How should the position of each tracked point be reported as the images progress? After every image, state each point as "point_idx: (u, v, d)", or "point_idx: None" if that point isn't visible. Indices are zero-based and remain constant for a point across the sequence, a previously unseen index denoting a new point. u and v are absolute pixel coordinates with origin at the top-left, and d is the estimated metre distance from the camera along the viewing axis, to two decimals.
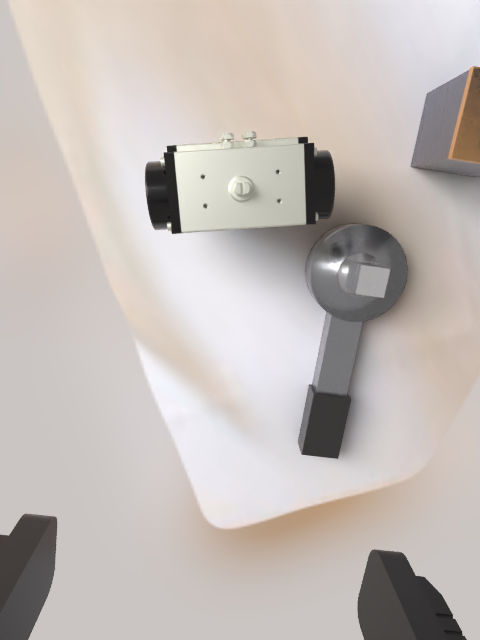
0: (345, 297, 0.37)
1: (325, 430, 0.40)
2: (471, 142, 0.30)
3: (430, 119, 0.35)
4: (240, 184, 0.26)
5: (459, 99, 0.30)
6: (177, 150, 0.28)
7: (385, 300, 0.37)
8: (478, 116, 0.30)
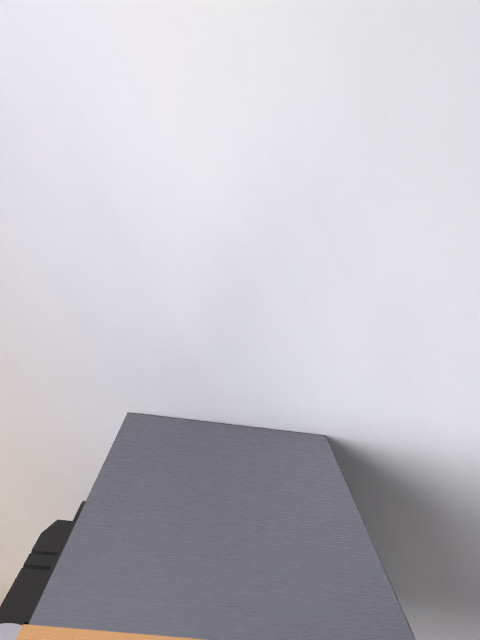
0: None
1: None
2: None
3: None
4: None
5: None
6: None
7: None
8: None
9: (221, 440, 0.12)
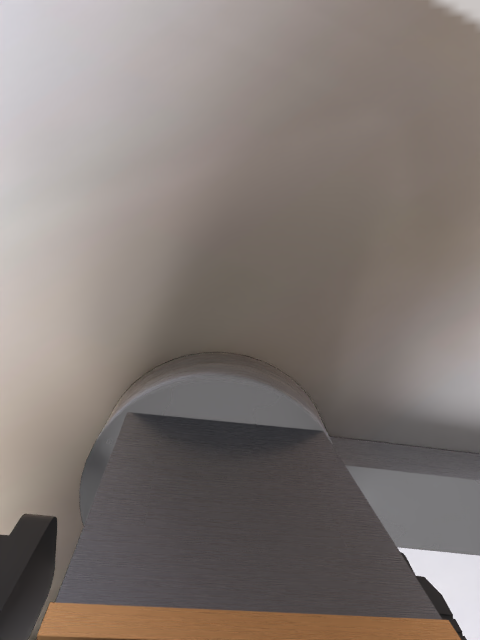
0: None
1: None
2: None
3: None
4: None
5: None
6: None
7: None
8: None
9: (223, 435, 0.12)
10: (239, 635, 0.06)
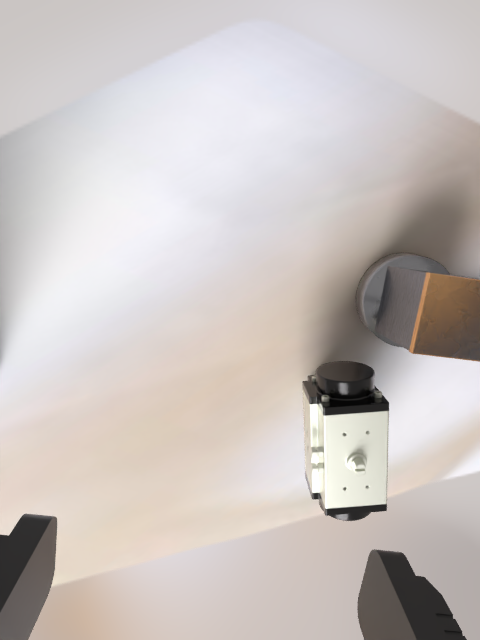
0: None
1: None
2: (430, 339, 0.31)
3: (391, 295, 0.36)
4: (357, 470, 0.32)
5: (418, 296, 0.32)
6: (316, 492, 0.35)
7: None
8: (436, 316, 0.31)
9: None
10: (463, 277, 0.31)
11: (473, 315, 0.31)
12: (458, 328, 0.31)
